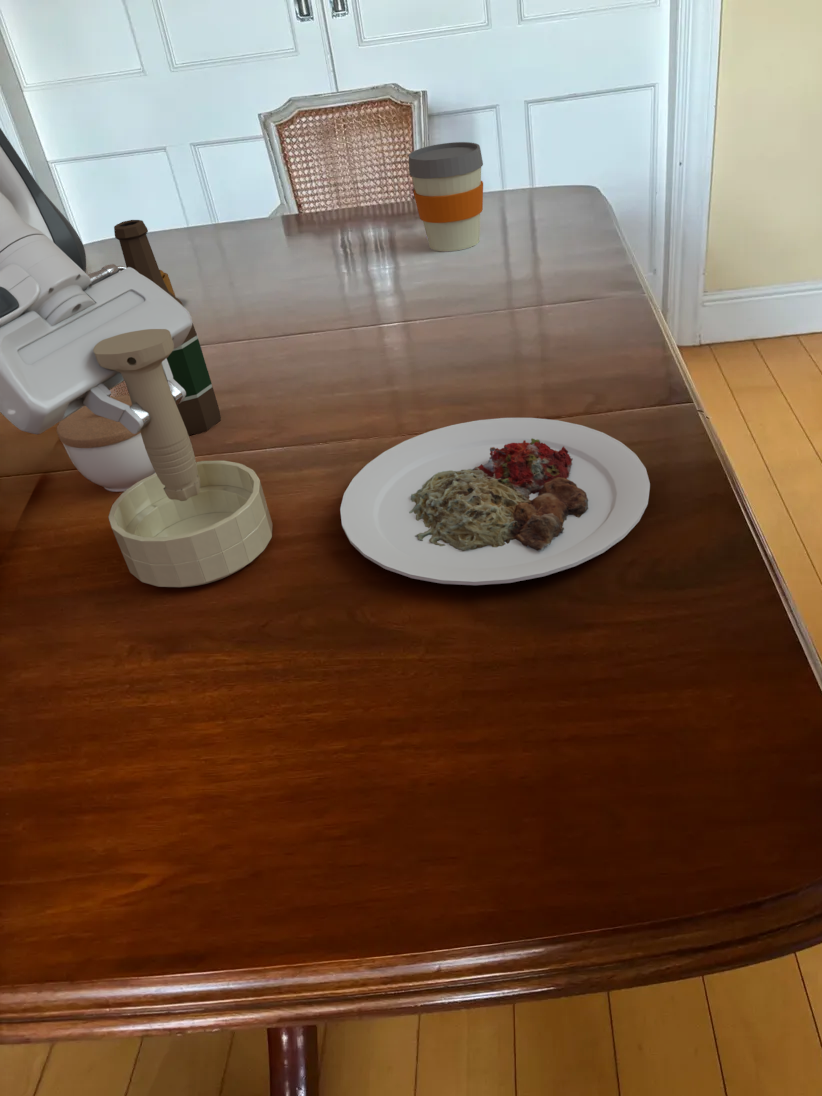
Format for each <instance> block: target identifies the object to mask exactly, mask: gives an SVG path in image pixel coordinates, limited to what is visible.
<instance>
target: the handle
mask: <svg viewBox="0 0 822 1096" xmlns="http://www.w3.org/2000/svg"><path fill="white" fill-rule="evenodd" d="M173 349H174V344H173V340H172V337H171V334H170V331H169V330H167V329H146V330H139V331H133V332H128V333H123V334H120V335H116V336H113V337H110V338H107V339H104V340H102V341H100V342H99V343H97V344H96V345H95V347H94V349H93V351H94V354H95V356H96V359H97V362H98V364H99V365H100V366H101V367H103V368H106V369H110V370H115V371H118V372H120V373H121V375H122V377H123V379H124V381H123V382H124V383H125V386H126V389H127V392H128V395H129V396H130V399H131V402H132V405H133V404H135V403H136V402H137V403H138V404H139V405H140V406H141V407H142V408H143V411H146V412H147V413H148V414H149V415H150V417H151V420H150V421H149V423H148V425H147V426H146V427H145V428H144V429H142V430H141V431H140V433H141V436H142V440H143V443H144V446H145V449H146V451H147V454H148V457H149V459H150V462H151V464H152V466H153V468H154V470H155V472H156V474H157V476H158V478H159V480H160V481H161V483H162V484H163V485H165V488H163V489H164V491H165V493H166V495H167V496H168V498H169V499H171V500H173V499H175V500H180V501H186V500H187V499H188V498H190V497H192V496H195V495H198V494H199V492H200V489H199V488H200V486H201V485H200V479H199V476H198V475H197V473H198V472H197V465H196V462H197V460H196V455H195V452H194V448H193V445H192V441H191V438H190V435H188V433H187V430H186V427H185V425H184V422H183V420H182V418H181V415H180V413H179V410H178V408H177V405H176V403H175V401H174V398H173V395H172V393H171V390H170V388H169V385H168V382H167V380H166V377H165V375H164V371H163V367H162V362H163V361H164V360H165V359H166V358H167V357H168V356H169V355H170V354H171V353H172V351H173Z"/></svg>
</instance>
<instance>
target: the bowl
mask: <svg viewBox="0 0 822 1096" xmlns="http://www.w3.org/2000/svg"><path fill="white" fill-rule="evenodd" d="M196 465H197V472H198V473H197V475H198V476H199V479H200V485H201V486H200V488H199V489H200V492H199V494H198V495H195V496H192V497H190V498H188V499H187V500H186V501H180V500H175V499H173V500H171V499H169V498H168V496H167V495H166V493H165V491H164V489H163V488H165V485H163V484H162V483H161V481H160V480H159V478H158V476H157V474H156V473H155V474H153V475H151V476H149V477H147V478H145V479H142V480H140V481H139V482H137V483H136V484H134V485H133V486H132V487H130V488H129V489H127V490H126V491H122V493H121V494H120V495H119V497H117V499H116V500H115V501H114V503H112V505H111V508H110V511H109V514H108V517H107V518H108V521H109V525H110V529H111V530H112V532H113V535H114V537H115V540H116V543H117V544H118V547H119V549H120V551H121V554H122V557H123V559H124V561H125V563H126V566H127V569H128V572H129V573H130V574H131V575H132V576H134V578H136V579H137V580H139V582H141V583H144V584H147V585H151V586H155V587H158V588H191V587H198V586H202V585H208V584H211V583H215V582H218V581H220V580H223V579H225V578H227V577H229V576H231V575H233V574H235V573H237V572H239V571H240V570H242V569H243V568H245V567H246V566H247V565H250V564H251V563H252V562H253V561H254V560H255V559H256V558H258V557H259V556H260V555H261V554H262V553H263V552H264V551H265V550H266V549H267V547H268V544H269V543H270V541H271V539H272V537H273V526H274V525H273V522H272V518H271V514H270V510H269V507H268V503H267V499H266V496H265V493H264V489H263V486H262V483H261V479H260V478H259V476H258V475H257V473H256V471H255V470H254V469H252V468H251V467H248V466H246V465H245V464H243V463H239V462H234V461H229V460H200V461H196Z"/></svg>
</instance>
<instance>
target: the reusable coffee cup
mask: <svg viewBox="0 0 822 1096" xmlns="http://www.w3.org/2000/svg"><path fill="white" fill-rule="evenodd" d="M482 155H483V154H482V150H481V146H480V144H478V143H475V142H469V141H455V142H444V143H437V144H433V145H428V146H424V147H420V148H417V149H416V150H415V149H414V150H413V151H411V152H410V153H409V154H408V174H409V176H410V177H411V179H412V184H413V187H414V189H413V191H412V193H413V197H414V200H415V201H414V202H415V204H416V208H417V213H418V217H419V220H421V221H422V223H423V227H424V230H425V235H426V238H427V242H428V246H429V249H430V250H432V251H435V252H457V251H458V252H459V251H462V250H466V249H471V248H472V247H474V246H476V245H478V244H479V242H480V239H481V238H480V237H481V236H480V235H481V234H480V233H481V232H480V231H481V213H482V212H483V209H484V208H483V205H484V204H483V203H484V181H483V180H482V167H483V166H484V161H483V156H482Z"/></svg>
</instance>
